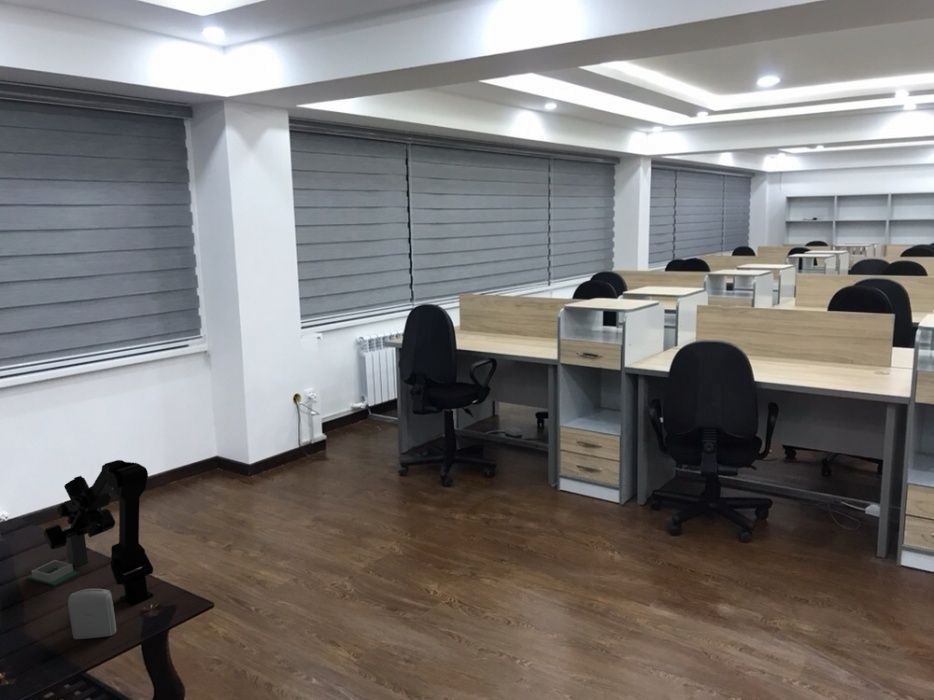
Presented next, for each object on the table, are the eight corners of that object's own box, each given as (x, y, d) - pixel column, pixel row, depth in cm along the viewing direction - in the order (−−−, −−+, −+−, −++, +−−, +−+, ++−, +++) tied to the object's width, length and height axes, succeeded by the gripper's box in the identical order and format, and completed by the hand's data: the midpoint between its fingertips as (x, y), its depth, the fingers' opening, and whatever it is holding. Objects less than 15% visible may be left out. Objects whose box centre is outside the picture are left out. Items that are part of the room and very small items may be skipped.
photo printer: (70, 641, 185) (63, 595, 183) (77, 631, 190) (71, 587, 187) (113, 637, 186) (107, 592, 184) (119, 628, 191) (113, 584, 188)
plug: (88, 562, 227) (83, 526, 225) (74, 568, 224) (69, 530, 222) (81, 559, 230) (76, 522, 228) (68, 564, 227) (63, 527, 225)
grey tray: (79, 573, 221) (78, 564, 220) (54, 586, 214) (53, 577, 213) (51, 566, 226) (50, 558, 225) (27, 578, 218) (25, 569, 218)
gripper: (106, 483, 227) (93, 509, 236) (41, 503, 213) (30, 530, 222) (122, 514, 224) (108, 538, 233) (57, 536, 210) (45, 561, 218)
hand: (74, 541), depth 226 cm, fingers open, 9 cm apart
